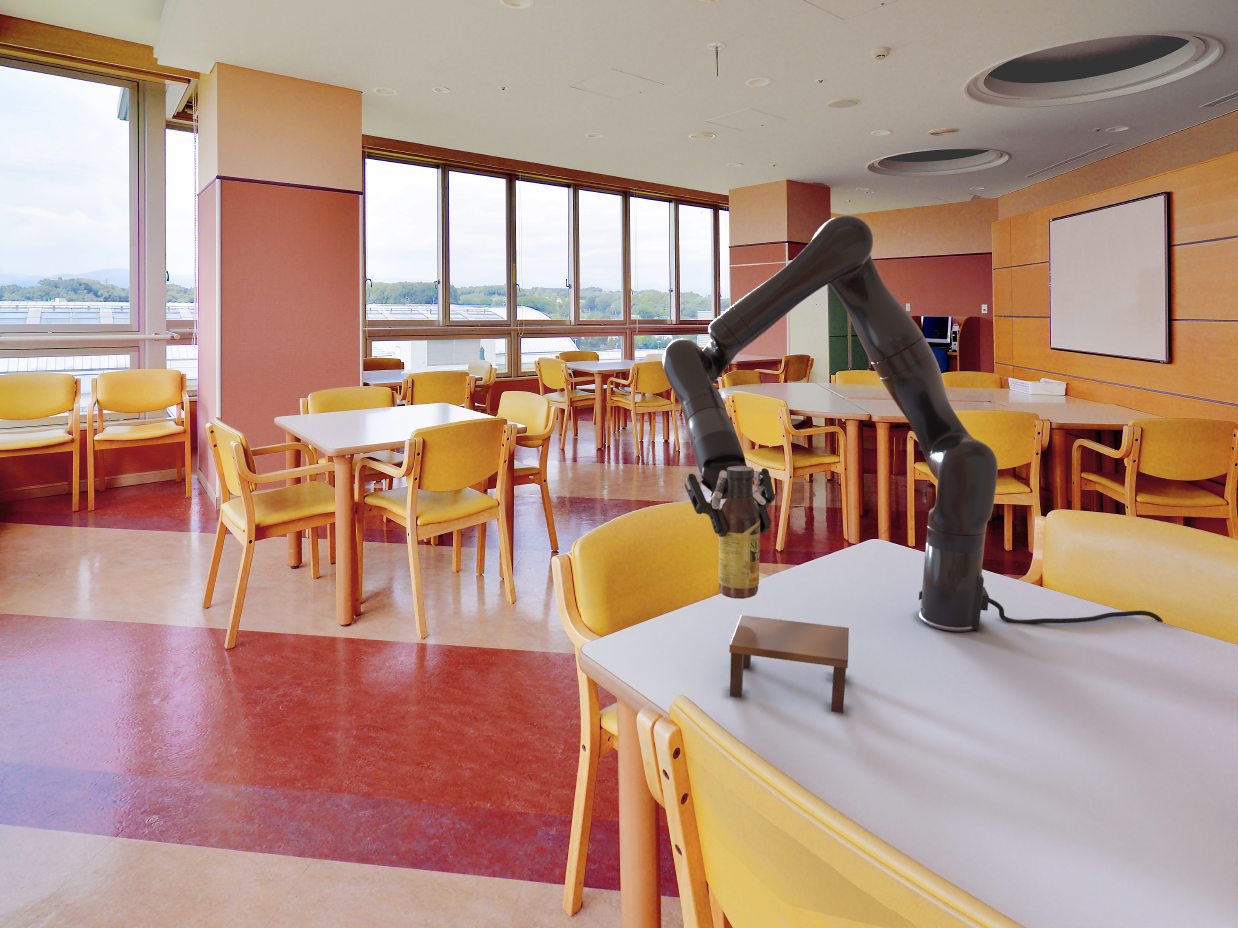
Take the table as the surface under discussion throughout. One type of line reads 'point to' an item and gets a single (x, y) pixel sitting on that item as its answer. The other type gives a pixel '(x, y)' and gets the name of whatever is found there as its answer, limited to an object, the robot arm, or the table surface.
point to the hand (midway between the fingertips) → (744, 532)
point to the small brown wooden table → (790, 649)
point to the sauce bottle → (740, 537)
